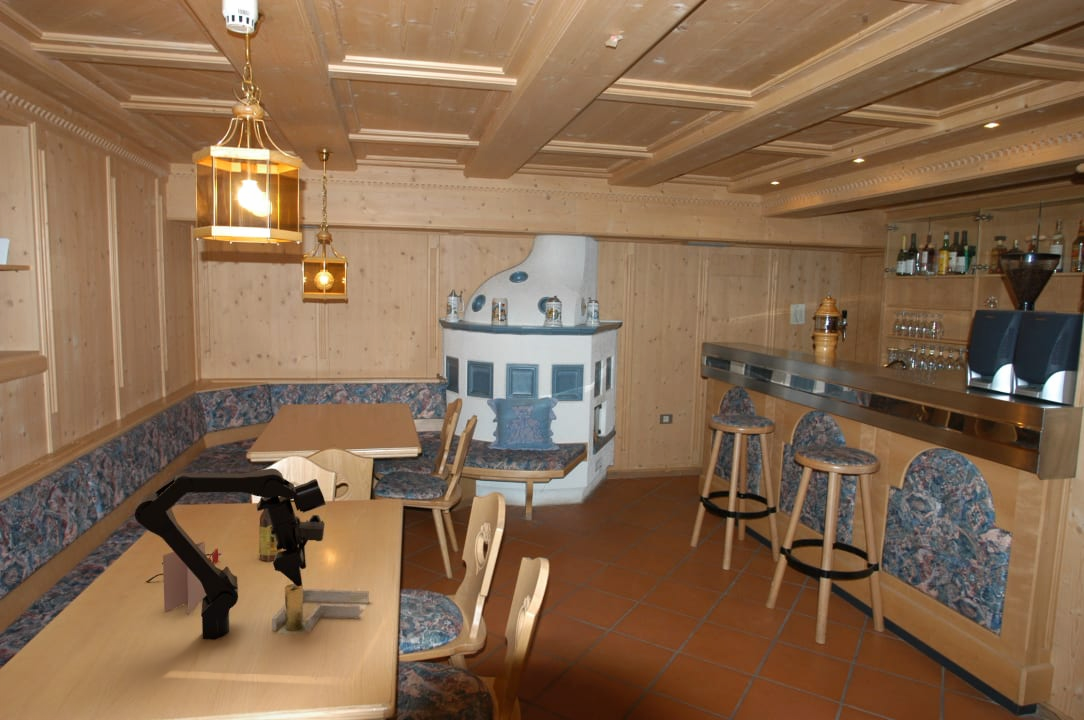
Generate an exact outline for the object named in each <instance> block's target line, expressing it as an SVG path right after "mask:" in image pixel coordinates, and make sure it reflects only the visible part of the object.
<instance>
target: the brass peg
mask: <svg viewBox="0 0 1084 720" xmlns="http://www.w3.org/2000/svg"><path fill="white" fill-rule="evenodd" d="M303 589H304V588H303V585H302V586H296V585H295V584H294V583H291V584H288V585H286V586H284V605H285V621H284V623H285V629H286V630H287V631H296V630H299V629H301V628H302V627H303V621H304V608H303V607H304V605H303V604H304V601H303Z"/></svg>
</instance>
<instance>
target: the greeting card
mask: <svg viewBox="0 0 1084 720" xmlns="http://www.w3.org/2000/svg"><path fill="white" fill-rule="evenodd" d="M195 544H196V545H197V546H198V547H199V548H200V550H201V551H202V552H203V553H204V554H206V547H205V546H206V541H201V542H198V543H195ZM162 563H163V564H162V566H163V567H162V568H163V569H162V571H163V573H162V574H163V575H162V576H163V603H164V604H163V607H164V608H163V610H164V613H166V611H167V612H169V611H171V609H172V610H174V609H176V607H177V608H178V606H179V607H181V606H183V604H184V605H186V604H187V612H188V613H187V615H188V616H190V615H191V613H192V612H193V611H194V610H195V609H196V608H197V606H198V605H199V604H200V603H201V602H202V599H203V598H204V597H205V596H206V593H205V591H204V588H203V586H202V584H201V582H200V581H199V579H198V578H197V577H196V576H195V575H194V574H193V573H192V571H191V570H190V569H189V568H188V567H187V566H186V565H185V564H184V562H183V561H182V560H181V559H180V558H179V557H178V556H177V554H176V553H175V552H174V551H172V552H168V553H165V554H163V555H162ZM200 601H201V602H200ZM199 602H200V603H199ZM180 605H181V606H180ZM173 608H174V609H173ZM194 608H195V609H194ZM193 609H194V610H193ZM168 610H169V611H168ZM192 610H193V611H192ZM191 611H192V612H191Z"/></svg>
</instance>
